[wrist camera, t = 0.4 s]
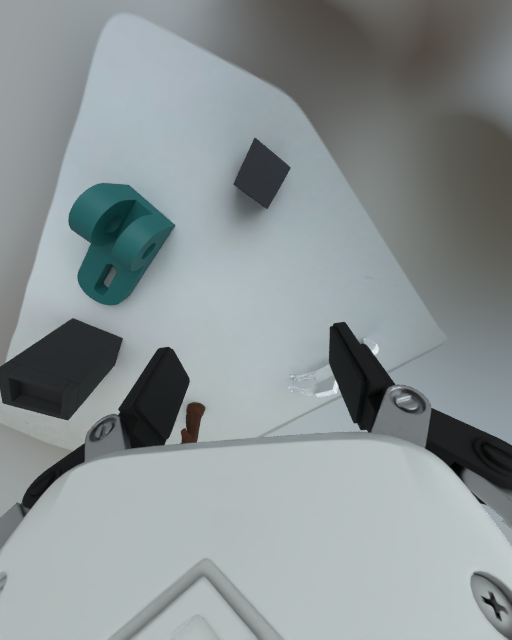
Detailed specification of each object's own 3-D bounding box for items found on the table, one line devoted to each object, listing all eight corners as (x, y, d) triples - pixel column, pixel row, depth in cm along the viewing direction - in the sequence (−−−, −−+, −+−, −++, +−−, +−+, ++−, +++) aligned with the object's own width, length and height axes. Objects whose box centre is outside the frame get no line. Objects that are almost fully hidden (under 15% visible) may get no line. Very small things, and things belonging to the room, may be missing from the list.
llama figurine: (298, 355, 49) (378, 341, 37) (290, 398, 42) (385, 397, 30) (294, 351, 48) (374, 335, 36) (285, 394, 41) (381, 391, 29)
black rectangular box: (72, 318, 36) (-4, 369, 25) (122, 338, 38) (72, 392, 28) (69, 348, 40) (2, 403, 30) (114, 365, 43) (68, 420, 32)
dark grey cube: (255, 145, 22) (254, 137, 19) (286, 171, 24) (291, 167, 20) (236, 185, 24) (233, 184, 21) (266, 207, 26) (267, 209, 22)
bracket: (128, 184, 25) (81, 181, 18) (175, 225, 27) (148, 235, 20) (82, 281, 32) (36, 303, 25) (122, 306, 34) (90, 332, 28)
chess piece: (196, 400, 49) (184, 442, 41) (209, 409, 52) (200, 451, 43) (184, 406, 51) (169, 447, 43) (197, 415, 53) (186, 456, 45)
